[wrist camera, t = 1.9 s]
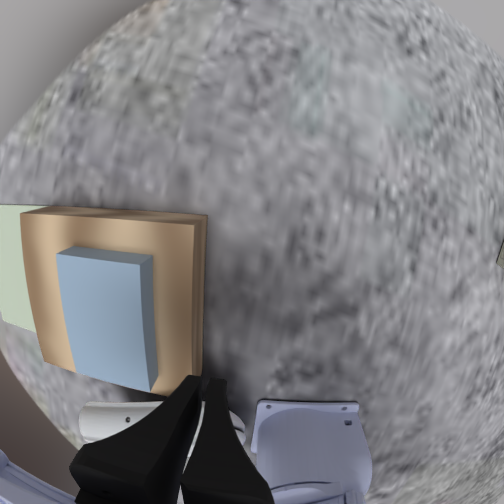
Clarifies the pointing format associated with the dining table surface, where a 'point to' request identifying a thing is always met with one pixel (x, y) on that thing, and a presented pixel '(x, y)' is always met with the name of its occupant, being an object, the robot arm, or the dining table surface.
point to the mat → (14, 269)
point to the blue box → (110, 314)
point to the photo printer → (129, 419)
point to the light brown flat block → (133, 241)
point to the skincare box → (501, 257)
